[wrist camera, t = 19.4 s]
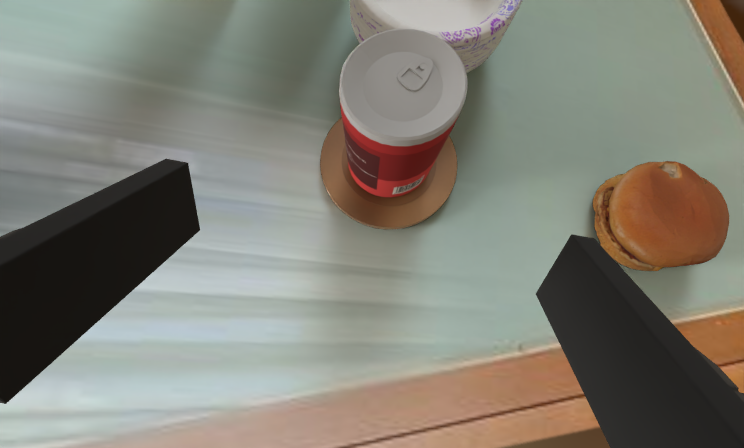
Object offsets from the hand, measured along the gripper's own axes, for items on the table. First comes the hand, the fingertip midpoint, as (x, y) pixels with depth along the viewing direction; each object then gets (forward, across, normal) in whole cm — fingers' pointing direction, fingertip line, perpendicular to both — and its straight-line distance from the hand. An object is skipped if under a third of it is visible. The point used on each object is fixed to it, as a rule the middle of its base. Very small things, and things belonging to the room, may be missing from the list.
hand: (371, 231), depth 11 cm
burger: (+19, +24, -6) cm, 31 cm away
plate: (+19, 0, -5) cm, 20 cm away
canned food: (+19, 0, -4) cm, 19 cm away
